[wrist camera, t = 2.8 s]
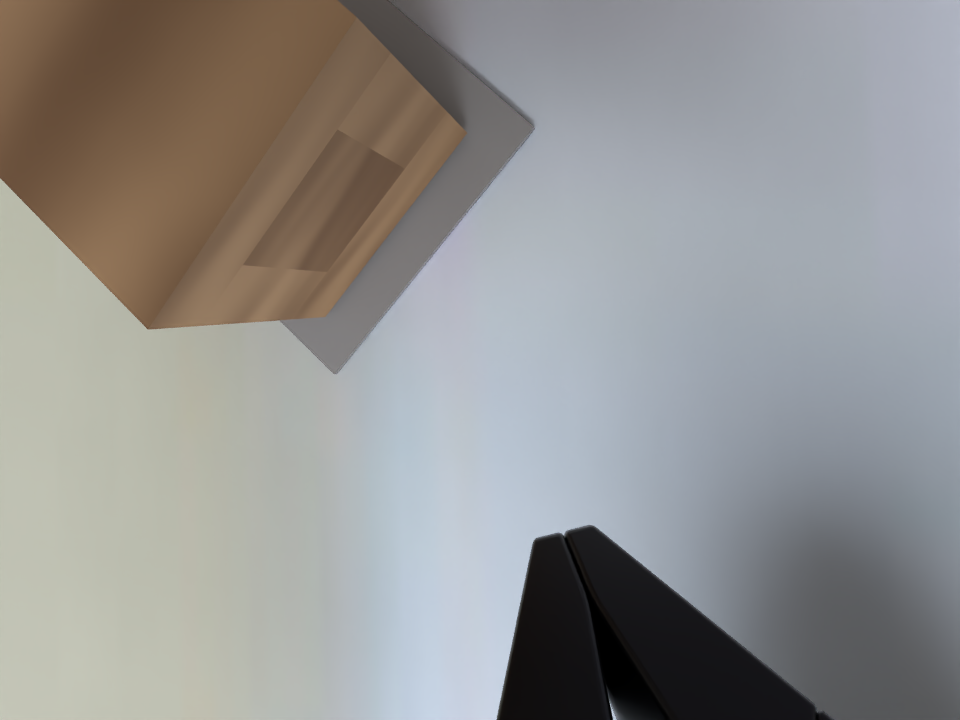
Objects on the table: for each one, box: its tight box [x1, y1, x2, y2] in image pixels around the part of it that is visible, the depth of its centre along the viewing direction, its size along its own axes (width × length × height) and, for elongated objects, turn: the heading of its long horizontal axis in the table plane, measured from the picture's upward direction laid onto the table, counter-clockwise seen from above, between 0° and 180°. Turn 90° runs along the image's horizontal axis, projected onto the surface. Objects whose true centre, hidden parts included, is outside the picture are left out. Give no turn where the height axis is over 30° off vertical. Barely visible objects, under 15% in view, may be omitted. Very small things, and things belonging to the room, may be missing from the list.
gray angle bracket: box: [280, 0, 535, 374], centre depth 17 cm, size 18×11×6 cm, turn 49°
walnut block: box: [0, 0, 467, 329], centre depth 16 cm, size 8×8×8 cm
